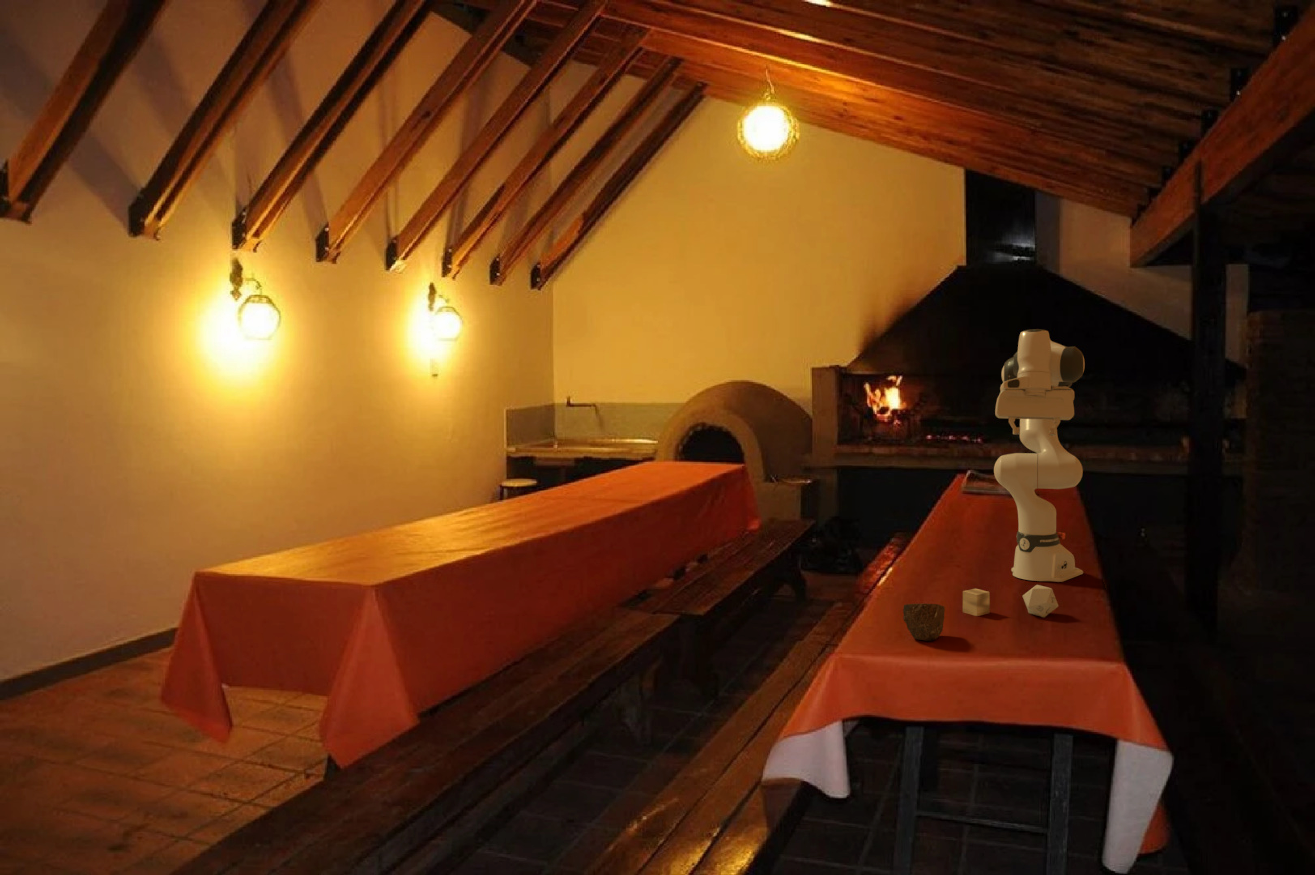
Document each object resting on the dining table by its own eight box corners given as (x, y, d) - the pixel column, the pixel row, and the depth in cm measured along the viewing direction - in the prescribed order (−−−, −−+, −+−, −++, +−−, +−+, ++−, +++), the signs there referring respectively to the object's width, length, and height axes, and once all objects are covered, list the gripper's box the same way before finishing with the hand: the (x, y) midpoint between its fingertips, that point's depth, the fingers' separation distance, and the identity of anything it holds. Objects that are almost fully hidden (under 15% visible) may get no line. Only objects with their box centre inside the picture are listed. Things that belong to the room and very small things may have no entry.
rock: (933, 612, 263) (956, 598, 256) (941, 648, 258) (964, 635, 251) (896, 607, 259) (918, 593, 251) (902, 643, 254) (925, 630, 246)
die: (1027, 621, 270) (1050, 596, 266) (1010, 599, 277) (1033, 574, 273) (1047, 627, 274) (1070, 602, 270) (1030, 605, 281) (1052, 580, 277)
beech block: (975, 609, 281) (975, 588, 280) (989, 613, 277) (989, 592, 276) (962, 612, 279) (962, 591, 278) (976, 616, 274) (976, 595, 274)
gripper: (1072, 389, 277) (1072, 438, 274) (994, 387, 281) (994, 435, 278) (1076, 383, 271) (1077, 433, 268) (997, 382, 275) (997, 431, 272)
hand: (1034, 434), depth 273 cm, fingers open, 8 cm apart
